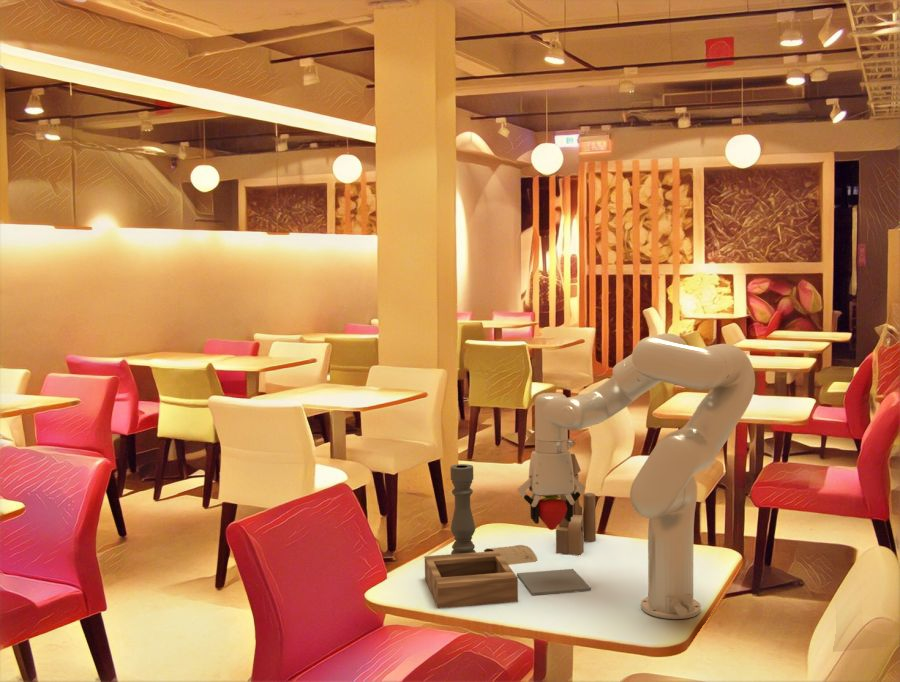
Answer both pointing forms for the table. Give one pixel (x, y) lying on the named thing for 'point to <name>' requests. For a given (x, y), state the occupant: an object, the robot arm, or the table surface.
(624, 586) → the table surface
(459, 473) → the candle holder
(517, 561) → the clay tablet
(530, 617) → the table surface
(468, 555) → the wooden box
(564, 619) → the table surface
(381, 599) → the table surface
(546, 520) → the strawberry
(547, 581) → the mat
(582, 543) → the wooden toy
